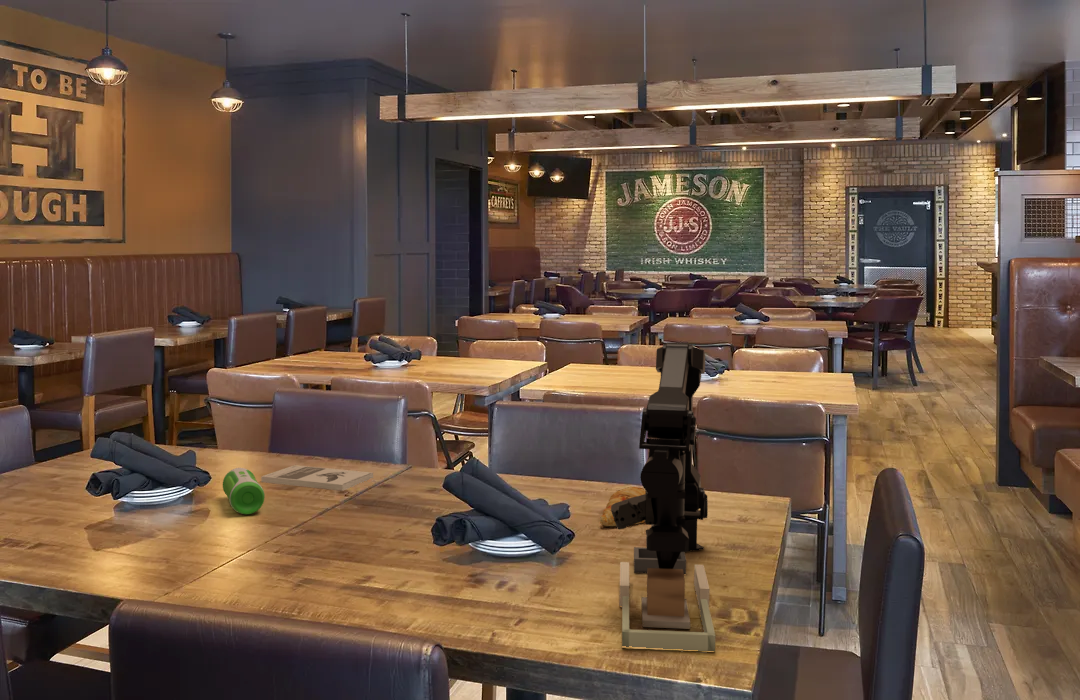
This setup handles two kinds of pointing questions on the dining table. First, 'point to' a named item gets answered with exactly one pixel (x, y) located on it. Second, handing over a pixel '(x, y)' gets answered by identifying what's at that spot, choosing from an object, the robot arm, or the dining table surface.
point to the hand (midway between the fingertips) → (664, 579)
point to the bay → (670, 633)
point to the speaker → (243, 491)
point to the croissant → (617, 497)
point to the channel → (699, 582)
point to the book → (317, 477)
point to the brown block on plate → (665, 599)
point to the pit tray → (653, 560)
